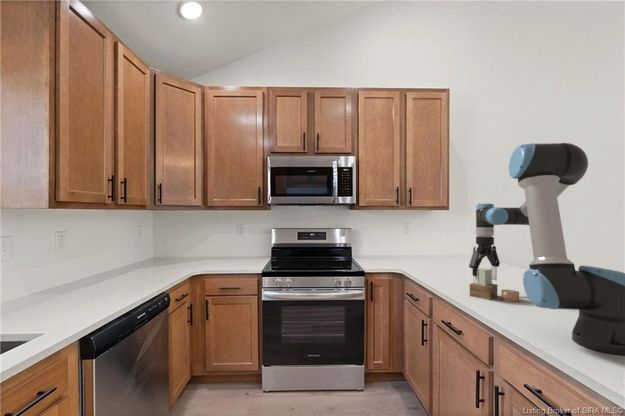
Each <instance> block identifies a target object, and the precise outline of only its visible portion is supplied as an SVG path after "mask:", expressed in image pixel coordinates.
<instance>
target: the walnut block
mask: <svg viewBox="0 0 625 416" xmlns="http://www.w3.org/2000/svg"><path fill="white" fill-rule="evenodd" d="M469 297H473V298H477V299H481V300H487V301H491V300H493V299H495V298H498V284H496V283H492V285H486V286H484V285H480V284H475V283H473V282H472V283H471V282H470V283H469Z"/></svg>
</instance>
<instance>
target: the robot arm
mask: <svg viewBox="0 0 625 416" xmlns="http://www.w3.org/2000/svg"><path fill="white" fill-rule="evenodd" d="M588 159H589V158H588V155H587V153H586V152H585V151H584V150H583V149H582V148H581V147H579V146H578V145H575V144H573V143H569V142H561V143H559V142H557V143H553V142H552V143H550V142H549V143H534V142H532V143H524V144H523V143H522V144H519V145H518V146H517V147H515V149H514V151H513V152H512V153H511V156H510V159H509V164H508V172H509V175H510V177H511V178H512V179H517V183H518V184H517V185H518V186H519V187H520V188H522V189H523V190H524V196H525V201H523V203H522V204H521V205H520V207H501V206H500V207H499V206H498V207H496V206H495V205H494V204H493V203H477V204H476V205H475V206H476V207H475V208H476V209H475V236H476V237H475V243H476V245H477V246H473V250H472V251H473V252H472V255H471V259H470V262H469V265H468V267H469V268H470V269H472V273H471V275H472V283H479V269H478V268H479V267H480V265H481V263H482V261H483V258H485V257H486V258H487V260H488V262H489V263H490V266H489V269H491V270H492V281H497V275H498V273H497V272H498V271H497V270H498V269H497V268H499V267H500V264H501V263H500V259H499V255H498V252H497V248H496V247H497V246H496V245H495V237H494V235H495V226H501V225H502V226H503V225H504V226H505V225H507V226H508V225H510V226H511V225H512V226H513V225H514V226H516V225H517V226H529V233H530V240H531V247H532V256H533V260H532V261H531V262H530V263H529V264H528V265H529V269H526V270H525V271H524V273H523V278H522V283H523V289H524V292H525V294H526V296H527V298H528V299H529V300H530V302H531V303H532V304H533V305H535V306H536V307H538V308H541V309H549V310H573V311H575V310H577V311H578V312H579V313H578V317H577V319H576V322H575V324H574V326H573V329H572V332H571V339H572V341H573V342H574V343H576V344H577V345H580V346H582V347H585V348H588V349H589V350H593V351H598V352H601V353H605V354H606V353H607V354H610V355H611V354H613V355H618V356H619V355H621V356H625V272H622V271H618V270H614V269H609V268H605V267H604V268H603V267H598V266H589V265H582V264H581V265H579V267H578V270H576V267H575V263H574V262H573V261H571V260H570V259H569V258H568V256H567V250H566V244H565V237H564V231H563V225H562V218H561V213H560V206H559V200H558V197H559V196H561V194H563V192H564V191H565V190H566V189H568V188H569V187H570V186H573V185H575V184H578V182H579V181H581V179H583V177H584V176H585V174H586V173H587V170H588V167H589V160H588Z"/></svg>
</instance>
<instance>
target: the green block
mask: <svg viewBox="0 0 625 416" xmlns="http://www.w3.org/2000/svg"><path fill="white" fill-rule="evenodd" d="M478 269H479V283H475V284H480V285H484V286H486V285H492V284H493V280H492V270H491V269H490V268H484V267H480V268H479V267H478Z"/></svg>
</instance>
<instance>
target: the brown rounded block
mask: <svg viewBox="0 0 625 416" xmlns="http://www.w3.org/2000/svg"><path fill="white" fill-rule="evenodd" d="M500 292H501V293H500V295H501V296H500V297H501V300H502V301H504V302H509V303H519V302H520V292H519V291H517V290H514V289H501V291H500Z"/></svg>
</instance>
